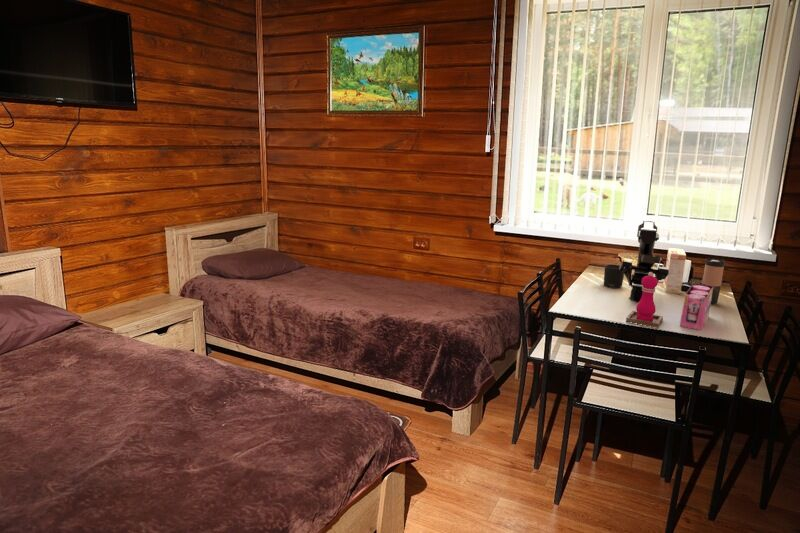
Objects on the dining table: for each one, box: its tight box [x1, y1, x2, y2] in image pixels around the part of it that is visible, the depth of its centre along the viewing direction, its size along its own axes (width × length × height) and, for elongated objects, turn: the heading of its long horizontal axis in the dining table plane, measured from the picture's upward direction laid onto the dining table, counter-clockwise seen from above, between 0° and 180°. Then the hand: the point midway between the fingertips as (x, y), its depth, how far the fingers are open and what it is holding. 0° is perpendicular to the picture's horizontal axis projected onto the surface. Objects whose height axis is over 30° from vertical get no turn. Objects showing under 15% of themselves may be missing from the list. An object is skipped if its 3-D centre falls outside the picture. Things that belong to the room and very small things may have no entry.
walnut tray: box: [625, 310, 664, 329], centre depth 227 cm, size 12×12×2 cm
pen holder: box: [603, 264, 625, 289], centre depth 279 cm, size 9×9×10 cm
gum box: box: [679, 282, 714, 331], centre depth 227 cm, size 24×8×14 cm, turn 145°
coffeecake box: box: [662, 247, 687, 295], centre depth 276 cm, size 15×7×20 cm, turn 159°
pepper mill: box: [635, 272, 659, 322], centre depth 225 cm, size 7×7×20 cm
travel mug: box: [701, 257, 726, 305], centre depth 255 cm, size 8×8×20 cm
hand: (641, 287), depth 234 cm, fingers open, 9 cm apart
